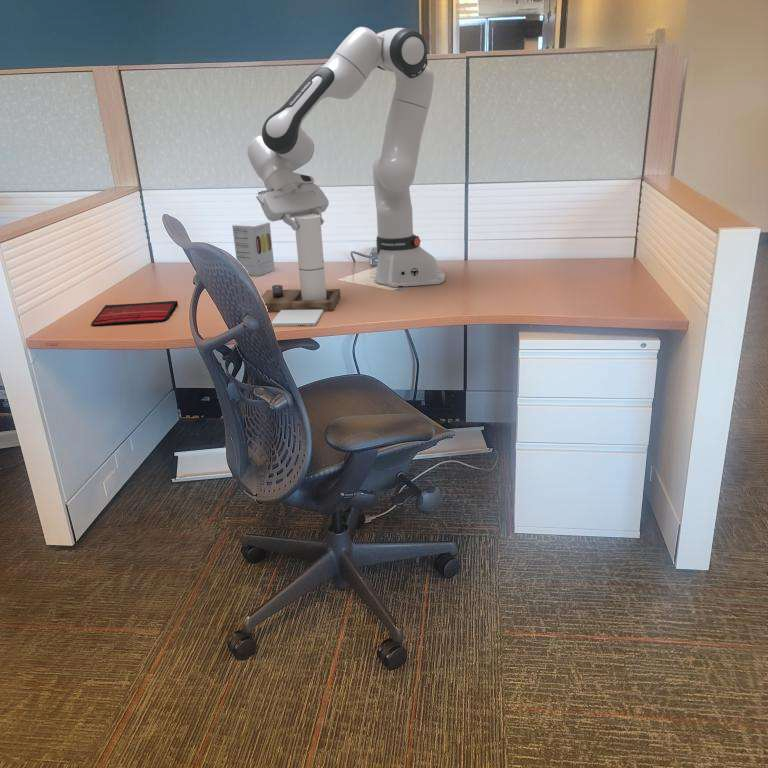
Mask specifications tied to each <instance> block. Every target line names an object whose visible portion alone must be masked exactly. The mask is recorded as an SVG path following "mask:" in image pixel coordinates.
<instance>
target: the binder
mask: <svg viewBox="0 0 768 768" xmlns="http://www.w3.org/2000/svg"><path fill="white" fill-rule="evenodd" d="M178 302H179V301H178V300H169V301H151V302H140V303H124V304H123V303H121V304H119V303H118V304H105V305H104V307H103V308H102V309H101V311H99V313H98V314H97V316H95V317H94V319H93V320H92V321H91V323H90V325H91V327H104V326H117V325H118V326H119V325H130V324H131V325H132V324H145V323H147V324H148V323H151V324H157V323H159V322H160V323H165V322H167V321H168V320H169V319H170V318H171V316H172V315H173V314H174V313H175V311H176V310H173V309H175V307H178V306H179V303H178ZM173 312H174V313H173ZM160 323H159V324H160Z"/></svg>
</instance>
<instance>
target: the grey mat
mask: <svg viewBox="0 0 768 768" xmlns="http://www.w3.org/2000/svg"><path fill="white" fill-rule="evenodd" d="M324 312H325V311H323V309H320V310H281V311H280V312H278V313H277V314H276V316H275V317H274V318H273V320H272V321H271V322H272V323H273V325H274V326H273V327H301V326H300V325H306V326H305V327H316V326H317V324H318V323H317V322H320V319H321V318H322V316H323V314H324ZM321 315H322V316H321ZM320 317H321V318H320ZM298 325H299V326H298ZM311 325H312V326H311ZM315 325H316V326H315Z"/></svg>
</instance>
